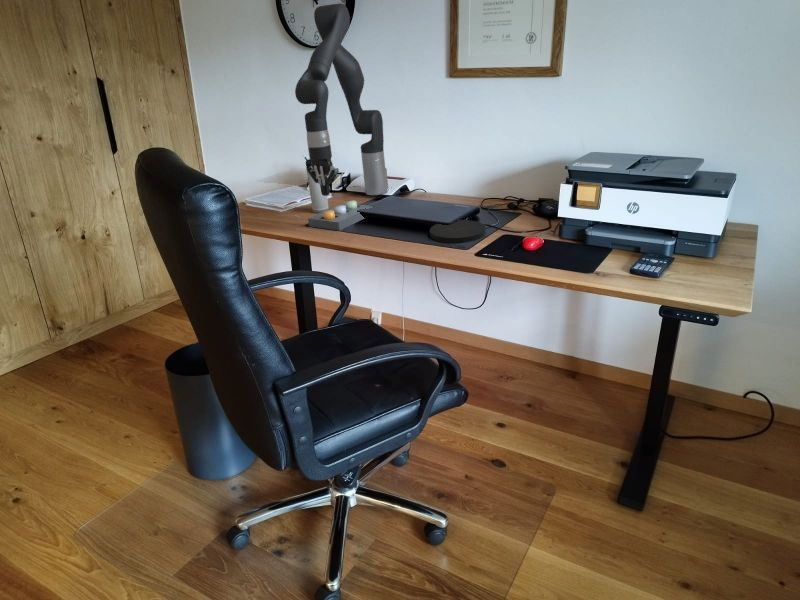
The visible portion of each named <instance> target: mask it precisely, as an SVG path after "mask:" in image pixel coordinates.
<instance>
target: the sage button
mask: <svg viewBox="0 0 800 600" xmlns="http://www.w3.org/2000/svg"><path fill="white" fill-rule="evenodd" d="M345 203H346V209H351V210H353V209H356V208H357V205H358V203H357V200H354V199H353V200H347V201H345Z"/></svg>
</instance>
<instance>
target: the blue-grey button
mask: <svg viewBox="0 0 800 600" xmlns="http://www.w3.org/2000/svg"><path fill="white" fill-rule="evenodd" d="M338 205H339V206H337V205H335V206H336V207H335V206H334V207H335V214H339V215H343V214H345V213H346V206H345V205H340V204H338Z"/></svg>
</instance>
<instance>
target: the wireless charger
mask: <svg viewBox="0 0 800 600" xmlns="http://www.w3.org/2000/svg"><path fill="white" fill-rule="evenodd" d="M457 220H458V221H457V222H455V223H453V224H451V225H442V224H438V223H436V224H434V225H432V226H431V227H430V228H429V236H430V238H431V239H432V240H433V241H437V242H439V243H445V244H446V243H447V244H463V243H469V242H474V241H477V240H479V239H481V238H483V237H484V236H485V235H486V226H485V224H483V223H481V222H480V221H479V222H478V221H475V220H471V219H470V220H468V219H457Z"/></svg>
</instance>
